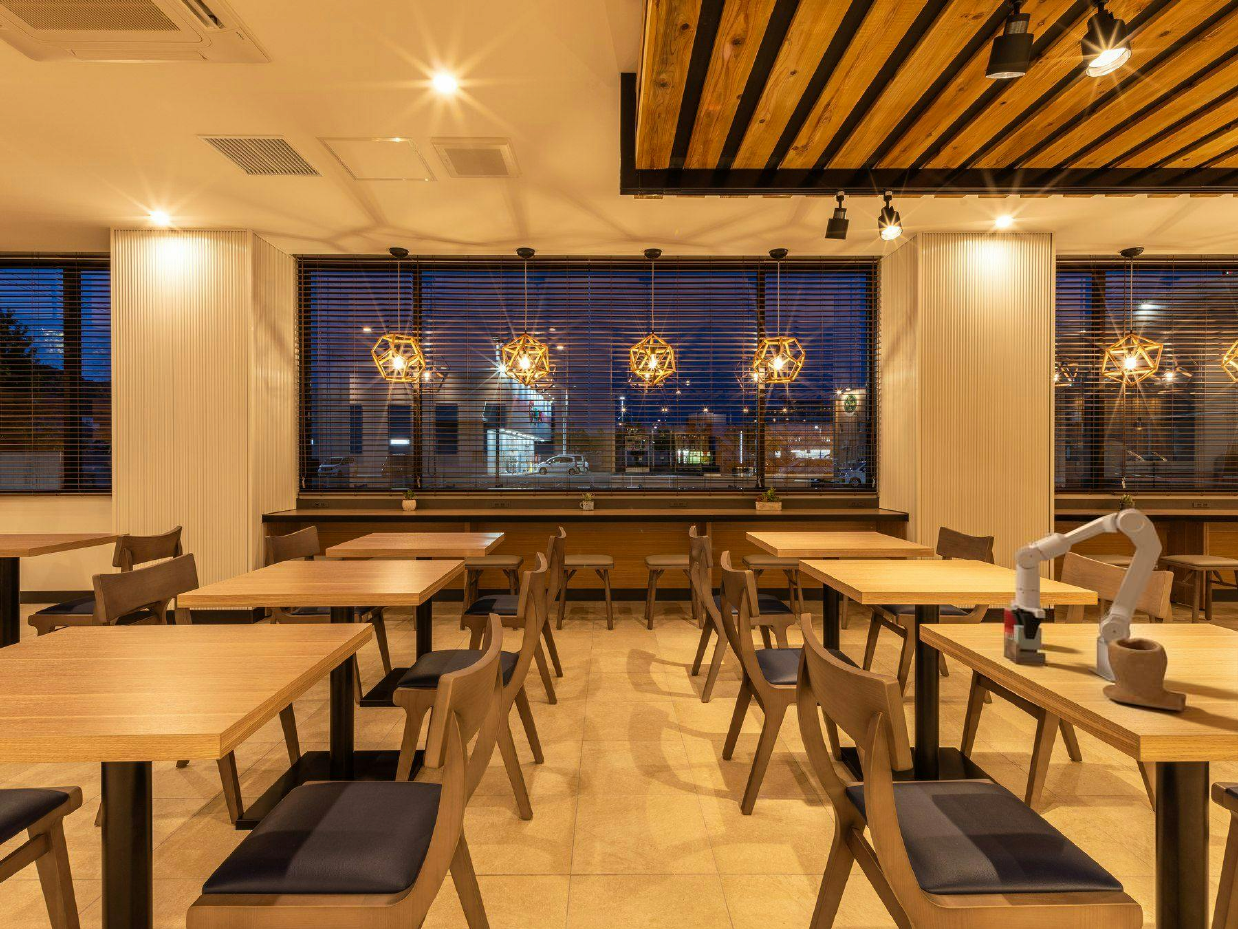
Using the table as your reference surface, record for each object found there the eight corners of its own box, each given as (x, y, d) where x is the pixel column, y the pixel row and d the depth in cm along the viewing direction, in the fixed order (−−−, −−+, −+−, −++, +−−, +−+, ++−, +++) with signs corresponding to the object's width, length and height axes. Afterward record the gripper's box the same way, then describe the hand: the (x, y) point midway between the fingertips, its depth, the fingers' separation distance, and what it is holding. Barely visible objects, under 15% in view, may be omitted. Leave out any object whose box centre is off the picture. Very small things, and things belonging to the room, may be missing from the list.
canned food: (1033, 649, 183) (1034, 612, 183) (1002, 644, 188) (1003, 608, 188) (1035, 643, 190) (1035, 608, 190) (1005, 638, 194) (1005, 604, 194)
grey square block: (1041, 650, 170) (1041, 628, 170) (1018, 648, 171) (1018, 627, 171) (1036, 647, 172) (1036, 626, 172) (1013, 646, 173) (1013, 625, 173)
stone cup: (1104, 705, 140) (1104, 640, 140) (1101, 690, 149) (1102, 629, 149) (1194, 722, 131) (1195, 652, 131) (1185, 705, 140) (1185, 640, 140)
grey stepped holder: (1047, 665, 168) (1047, 645, 168) (1015, 664, 169) (1016, 644, 169) (1034, 657, 175) (1034, 638, 175) (1003, 656, 176) (1004, 637, 176)
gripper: (1000, 583, 179) (999, 629, 179) (1025, 593, 165) (1024, 644, 165) (1026, 584, 178) (1025, 631, 178) (1053, 595, 164) (1053, 645, 164)
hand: (1027, 637), depth 172 cm, fingers closed on grey square block, 2 cm apart
